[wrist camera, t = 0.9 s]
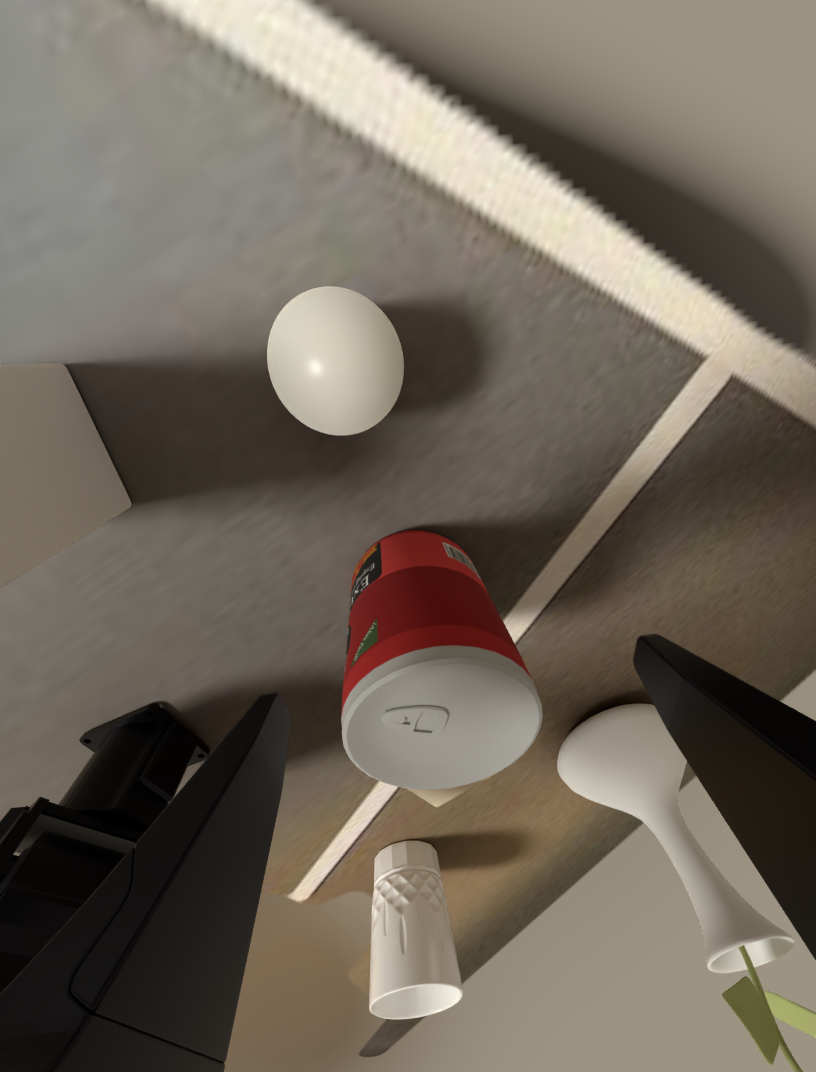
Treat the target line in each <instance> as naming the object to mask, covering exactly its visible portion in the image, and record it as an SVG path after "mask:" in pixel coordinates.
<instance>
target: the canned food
mask: <svg viewBox="0 0 816 1072" xmlns="http://www.w3.org/2000/svg"><path fill="white" fill-rule="evenodd" d="M542 718H543V713H542V704H541V701H540V699H539V696H538V693H537V690H536V687H535V685H534V682H533V680H532V678H531V676H530V674H529V672H528V670H527V668H526V666H525V664H524V662H523V659H522V657H521V655H520V653H519V652H518V650H517V648H516V646H515V644H514V642H513V640H512V638H511V636H510V634H509V632H508V630H507V628H506V627H505V625H504V623H503V621H502V619H501V617H500V615H499V613H498V611H497V609H496V607H495V605H494V603H493V602H492V600H491V598H490V596H489V594H488V592H487V590H486V588H485V586H484V584H483V582H482V580H481V578H480V577H479V575H478V573H477V571H476V569H475V567H474V565H473V563H472V561H471V559H470V558H469V557H468V555H467V554H466V553H465V551H464V550H463V549H461V548H460V547H459V546H458V545H457V544H455V543H454V542H452V541H451V540H449V539H447V538H445V537H443V536H442V535H439V534H436V533H433V532H429V531H422V530H407V531H402V532H397V533H394V534H391V535H389V536H386V537H384V538H383V539H381V540H379V541H378V542H376V543H375V544H374V545H373V546H371V547H370V548H369V549H368V550H367V551H366V553H365V554H364V555H363V557H362V558H361V560H360V561H359V562H358V564H357V566H356V569H355V571H354V573H353V579H352V587H351V599H350V611H349V623H348V634H347V646H346V658H345V670H344V682H343V694H342V714H341V723H342V738H343V745H344V748H345V750H346V752H347V754H348V756H349V758H350V759H351V760H352V762H353V763H354V764H355V765H356V766H357V767H358V768H359V769H360V770H362V771H363V772H365V773H366V774H367V775H369V776H370V777H373V778H375V779H377V780H379V781H381V782H383V783H387V784H390V785H394V786H397V787H403V788H410V789H425V790H435V789H445V788H453V787H458V786H462V785H467V784H470V783H473V782H476V781H479V780H482V779H485V778H487V777H489V776H491V775H494V774H496V773H498V772H500V771H501V770H503V769H505V768H506V767H508V766H509V765H511V764H512V763H514V762H515V761H516V760H517V759H518V758H520V757H521V756H522V755H523V754H524V753H525V752H526V751H527V750H528V748H529V747H530V746H531V745H532V743H533V742H534V741H535V739H536V737H537V735H538V733H539V731H540V727H541V723H542Z"/></svg>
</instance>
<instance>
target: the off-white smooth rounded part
mask: <svg viewBox="0 0 816 1072" xmlns="http://www.w3.org/2000/svg"><path fill="white" fill-rule="evenodd" d="M267 363H268V370H269V374H270V378H271V381H272V384H273V387H274V389H275V391H276V393H277V395H278V397H279V399H280V400H281V402H282V403H283V405H284V406H285V407H286V408H287V409H288V411H289V412H290V413H291V414H292V415H293V416H294V417H295V418H296V419H298V420H299V421H300V422H302V423H303V424H305V425H306V426H308V427H310V428H312V429H314V430H316V431H319V432H322V433H325V434H330V435H343V436H344V435H353V434H357V433H360V432H363V431H365V430H368V429H370V428H371V427H373V426H375V425H376V424H377V423H379V422H380V421H381V420H382V419H383V418H384V417H385V416H386V415H387V414H388V413H389V411H390V410H391V409H392V407H393V406H394V404H395V402H396V400H397V398H398V396H399V393H400V390H401V386H402V382H403V375H404V360H403V352H402V348H401V344H400V341H399V338H398V335H397V333H396V331H395V329H394V327H393V325H392V324H391V322H390V320H389V319H388V317H387V316H386V315H385V314H384V313H383V311H382V310H381V309H380V308H379V307H378V306H377V305H376V304H375V303H373V302H372V301H371V300H369V299H368V298H366V297H365V296H363V295H361V294H359V293H357V292H355V291H352V290H349V289H346V288H341V287H331V286H327V287H318V288H314V289H311V290H308V291H306V292H303V293H301V294H300V295H298V296H296V297H295V298H293V299H292V300H291V301H290V302H289V303H288V304H287V305H286V306H285V307H284V308H283V309H282V310H281V312H280V313H279V315H278V316H277V318H276V320H275V322H274V324H273V326H272V329H271V332H270V336H269V339H268V347H267Z"/></svg>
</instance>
